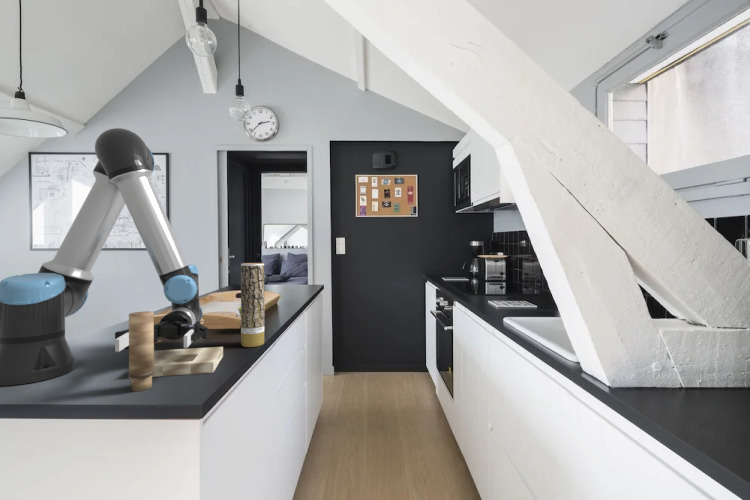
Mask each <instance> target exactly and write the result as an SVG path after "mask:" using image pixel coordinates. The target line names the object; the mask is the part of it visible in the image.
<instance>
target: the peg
mask: <svg viewBox="0 0 750 500" xmlns="http://www.w3.org/2000/svg"><path fill="white" fill-rule="evenodd" d="M154 313H155V312H154V311H150V310H149V311H137V312H130V313H128V329H129V349H128V378H129V377H130V378H129V379H130V390H131V391H132V392H144V391H147V390H149V389H151V388H153V377H152V374H154V351H155V343H154V324H155V322H154V321H155V320H154V319H155V318H154V317H155V316H154Z"/></svg>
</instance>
